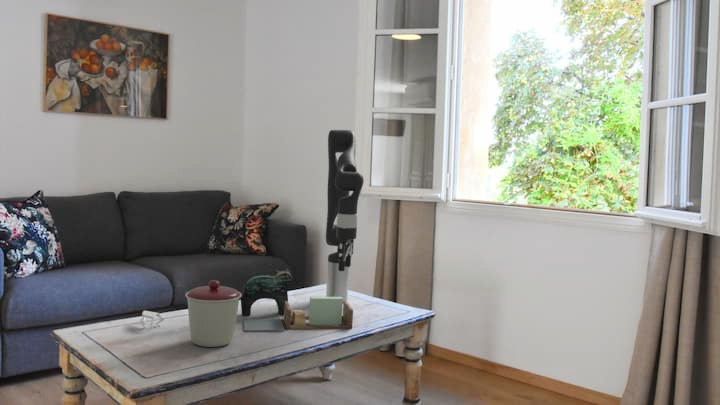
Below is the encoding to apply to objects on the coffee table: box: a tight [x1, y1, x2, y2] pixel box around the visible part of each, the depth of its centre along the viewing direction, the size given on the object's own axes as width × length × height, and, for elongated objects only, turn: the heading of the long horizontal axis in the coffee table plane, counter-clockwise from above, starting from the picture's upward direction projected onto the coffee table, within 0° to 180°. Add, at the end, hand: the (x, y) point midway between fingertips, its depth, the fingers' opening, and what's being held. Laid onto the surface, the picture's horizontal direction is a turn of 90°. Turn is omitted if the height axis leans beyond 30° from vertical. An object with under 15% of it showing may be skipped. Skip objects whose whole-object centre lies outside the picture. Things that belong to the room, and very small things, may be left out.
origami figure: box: [140, 310, 166, 332], centre depth 227 cm, size 12×8×5 cm
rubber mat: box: [242, 318, 285, 333], centre depth 235 cm, size 14×14×1 cm
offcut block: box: [291, 309, 307, 326], centre depth 241 cm, size 8×4×4 cm, turn 14°
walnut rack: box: [283, 300, 354, 330], centre depth 242 cm, size 14×24×7 cm, turn 102°
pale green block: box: [308, 296, 343, 325], centre depth 243 cm, size 3×12×10 cm, turn 102°
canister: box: [184, 279, 242, 348], centre depth 212 cm, size 18×18×21 cm
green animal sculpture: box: [240, 263, 293, 317], centre depth 250 cm, size 20×6×20 cm, turn 108°
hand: (344, 268), depth 239 cm, fingers open, 8 cm apart
